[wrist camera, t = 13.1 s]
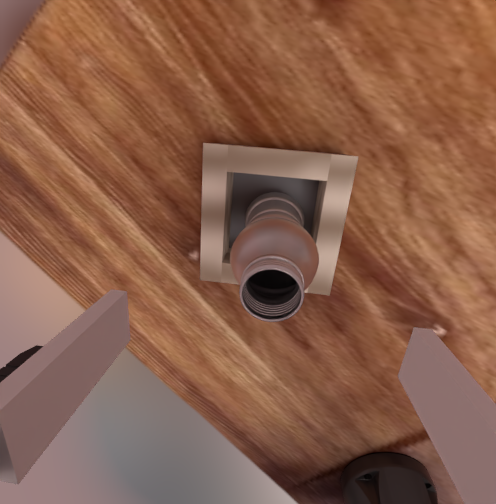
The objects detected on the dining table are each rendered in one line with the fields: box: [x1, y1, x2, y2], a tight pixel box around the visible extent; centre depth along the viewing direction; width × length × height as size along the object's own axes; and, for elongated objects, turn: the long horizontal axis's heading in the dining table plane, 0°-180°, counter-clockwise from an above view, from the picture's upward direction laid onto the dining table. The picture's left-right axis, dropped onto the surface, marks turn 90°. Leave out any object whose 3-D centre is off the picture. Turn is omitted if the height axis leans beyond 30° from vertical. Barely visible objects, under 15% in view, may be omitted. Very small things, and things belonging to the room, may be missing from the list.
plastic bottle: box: [230, 192, 319, 322], centre depth 26 cm, size 6×7×20 cm
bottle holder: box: [200, 143, 358, 295], centre depth 33 cm, size 15×15×6 cm
